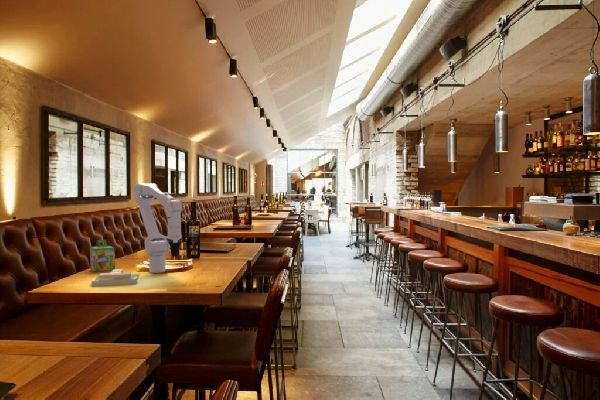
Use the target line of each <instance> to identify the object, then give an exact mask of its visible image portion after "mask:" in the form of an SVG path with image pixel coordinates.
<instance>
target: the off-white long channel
mask: <svg viewBox="0 0 600 400" xmlns="http://www.w3.org/2000/svg"><path fill="white" fill-rule="evenodd" d="M91 283H92V286H91V287H99V286H100V287H102V286H103V285H105V286H120V285H121V286H123V285H122V284H124V285H136V284H137V283H138V280H137V277H134V279H116V280H96V279H95V278H93V279H92V280H91Z"/></svg>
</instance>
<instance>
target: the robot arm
mask: <svg viewBox="0 0 600 400" xmlns="http://www.w3.org/2000/svg"><path fill="white" fill-rule="evenodd" d="M132 194H133V197H134V199H135V202H136V203H137V205H138V208H139V212H140V214H141V218H142V221H143V225H144V228H145V232H146V233H147V237H146V238H145V239H144V250H145V253H146V254H147V255H148V257H149V260H148V262H149V263H148V264H149V266H148V267H149V272H148V273H150V274H151V273H152V274H157V273H159V274H160V273H165V272H166V255H167V252H169V249H170V252H171V253H170V254H171V257H172V258H177V257H178V255H179V250H180V249H179V248H180V246H181V244H182V241H181V240H180V239H182V215H181V214H182V212H183V210H184V203H183V201H182V200H181V199H178V198H177V199H176V198H175V197H174V196H172V195H170V194H169V192H162V191H161V190H160V189H159V188H158V184H156V183H154V182H151V183H147V182H146V183H143V182H142V183H139V182H138V183H135V184H134V186H133V189H132ZM155 198H156V199H157V202H158V203H159V205H161V206H162V207H164V211H165V213H166V217H167V236H165V235H164V234H162V233H160V230H159V228H158V225H157V222H156V219H155V216H154V211H153V210H152V206H151V203H153V202H154V200H155ZM168 240H169V241H168Z"/></svg>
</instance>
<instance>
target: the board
mask: <svg viewBox="0 0 600 400" xmlns="http://www.w3.org/2000/svg"><path fill="white" fill-rule="evenodd" d="M140 276H141V273H131V279H134V277H137V281H139V277H140ZM94 279H96V280H99V275H97V276H96V277H95V278H94ZM123 285H125V284H122V285H121V286H123ZM103 286H106V285H103ZM89 287H93V286H92V282H91V283H90V284H89Z"/></svg>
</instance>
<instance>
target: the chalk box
mask: <svg viewBox="0 0 600 400" xmlns="http://www.w3.org/2000/svg"><path fill="white" fill-rule="evenodd" d="M101 243H103V244H102V245H101ZM89 257H90V258H89V259H90V261H89V262H90V271H91V272H101V271H112V270H116V248H115V247H114V246H110V245H108V242H107V239H100V240H99V239H98V240H96V246H91V247H90V248H89Z"/></svg>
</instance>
